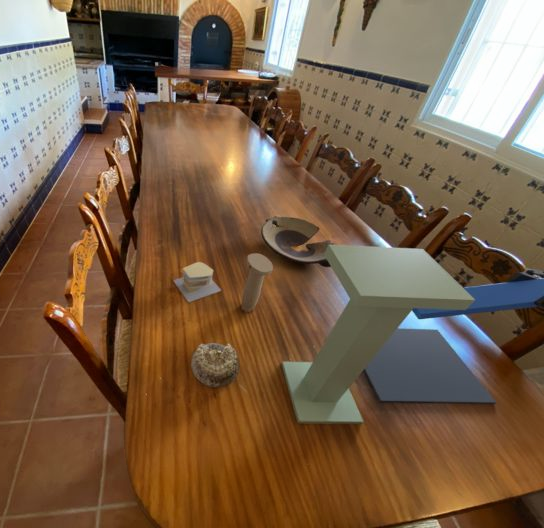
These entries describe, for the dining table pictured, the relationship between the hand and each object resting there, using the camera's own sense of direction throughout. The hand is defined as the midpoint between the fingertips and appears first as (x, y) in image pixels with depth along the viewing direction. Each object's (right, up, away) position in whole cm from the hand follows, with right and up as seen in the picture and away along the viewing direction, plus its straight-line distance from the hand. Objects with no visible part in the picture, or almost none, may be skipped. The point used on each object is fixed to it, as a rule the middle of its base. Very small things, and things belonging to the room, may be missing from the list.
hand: (527, 288), depth 47 cm
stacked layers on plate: (-52, -2, +33) cm, 62 cm away
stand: (-28, -21, +12) cm, 37 cm away
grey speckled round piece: (-49, -17, +15) cm, 54 cm away
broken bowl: (-20, +7, +47) cm, 52 cm away
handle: (-39, -7, +28) cm, 49 cm away
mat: (-5, -18, +19) cm, 26 cm away
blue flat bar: (-5, -2, +2) cm, 6 cm away
